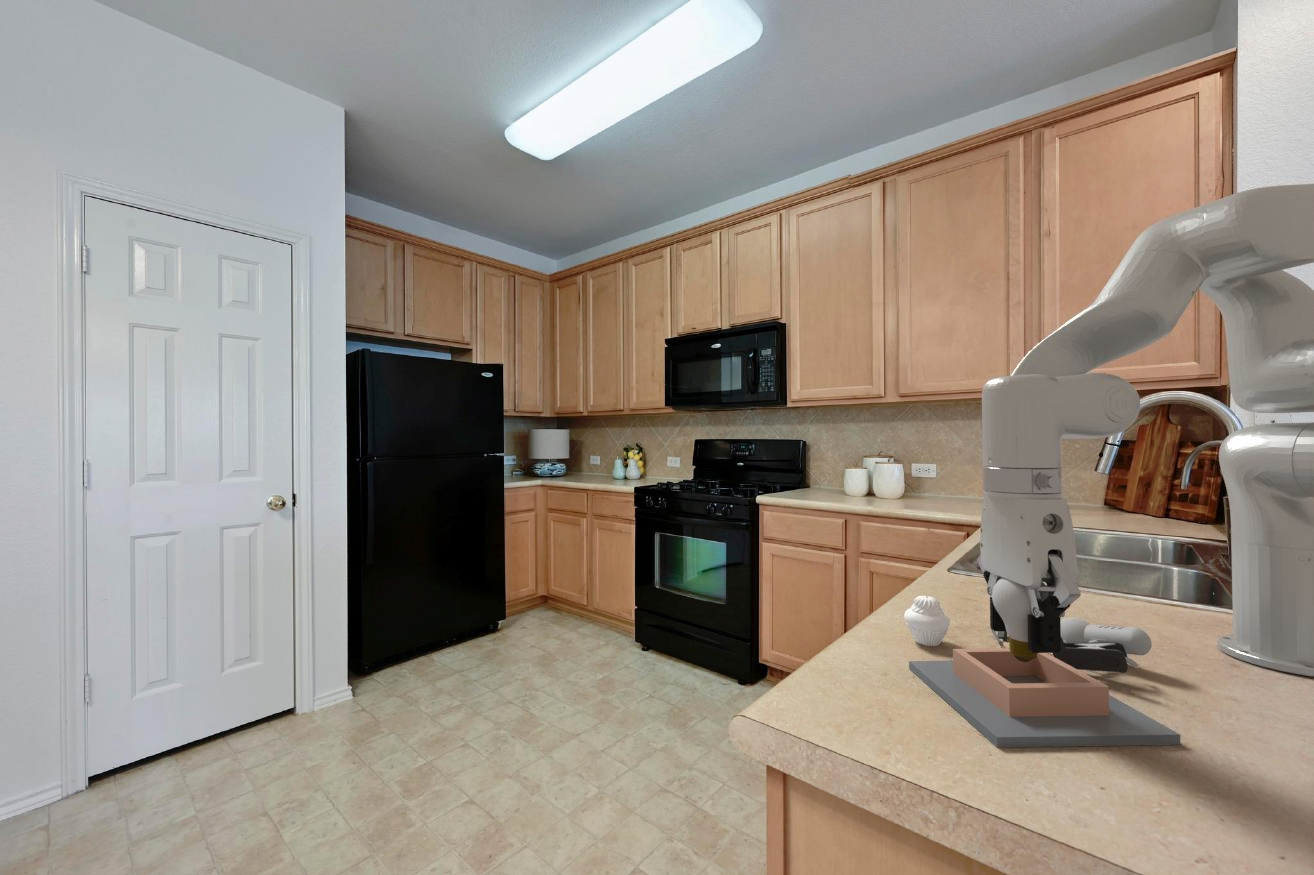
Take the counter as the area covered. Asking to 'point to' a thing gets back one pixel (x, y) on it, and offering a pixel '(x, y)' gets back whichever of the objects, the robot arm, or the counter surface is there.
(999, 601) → the light bulb
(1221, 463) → the robot arm
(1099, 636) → the clip-on lamp
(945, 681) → the holder board
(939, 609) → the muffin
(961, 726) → the counter surface
